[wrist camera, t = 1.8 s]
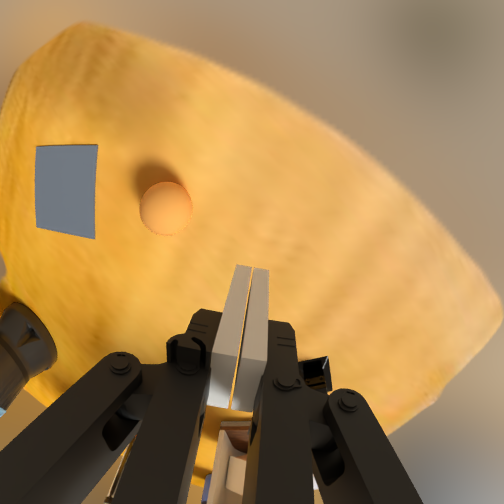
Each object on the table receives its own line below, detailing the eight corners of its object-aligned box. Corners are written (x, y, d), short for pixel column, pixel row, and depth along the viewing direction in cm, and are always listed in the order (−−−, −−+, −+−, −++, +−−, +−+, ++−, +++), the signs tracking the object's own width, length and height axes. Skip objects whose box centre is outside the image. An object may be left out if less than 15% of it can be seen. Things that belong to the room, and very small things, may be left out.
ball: (150, 223, 30) (129, 238, 25) (154, 176, 28) (131, 182, 23) (195, 230, 30) (181, 247, 25) (201, 182, 28) (186, 189, 23)
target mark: (37, 226, 32) (36, 227, 31) (37, 146, 27) (36, 146, 27) (95, 238, 32) (94, 239, 31) (97, 145, 27) (97, 145, 27)
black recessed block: (283, 350, 36) (284, 373, 32) (335, 339, 35) (341, 361, 31) (297, 402, 40) (299, 423, 36) (340, 393, 39) (345, 414, 35)
